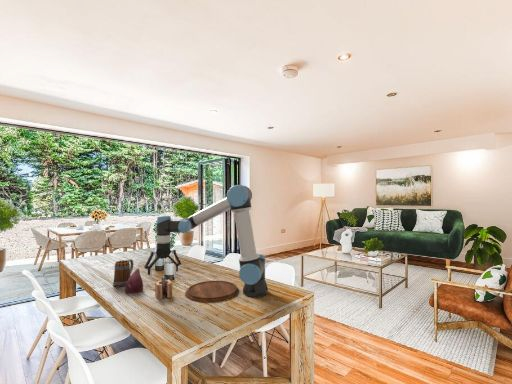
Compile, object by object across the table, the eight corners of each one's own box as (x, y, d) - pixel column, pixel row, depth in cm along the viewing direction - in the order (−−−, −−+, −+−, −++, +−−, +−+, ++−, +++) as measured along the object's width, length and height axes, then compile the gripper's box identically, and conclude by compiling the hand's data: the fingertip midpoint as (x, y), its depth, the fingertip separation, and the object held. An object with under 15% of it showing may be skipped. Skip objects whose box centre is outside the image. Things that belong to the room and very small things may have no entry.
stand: (167, 296, 155) (167, 277, 155) (160, 297, 153) (160, 278, 153) (166, 294, 158) (166, 275, 158) (159, 295, 156) (159, 276, 156)
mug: (123, 287, 170) (123, 264, 170) (109, 286, 172) (109, 263, 172) (139, 280, 185) (139, 258, 185) (125, 279, 187) (125, 257, 187)
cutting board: (230, 281, 182) (230, 277, 182) (246, 298, 153) (246, 293, 153) (182, 287, 171) (182, 283, 171) (188, 307, 141) (188, 302, 141)
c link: (172, 297, 154) (172, 283, 154) (157, 299, 150) (157, 285, 150) (169, 292, 161) (169, 279, 161) (155, 295, 157) (155, 281, 157)
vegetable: (137, 292, 170) (141, 268, 175) (145, 294, 164) (149, 268, 168) (121, 292, 163) (125, 267, 167) (128, 294, 156) (133, 267, 161)
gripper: (183, 239, 165) (182, 274, 165) (139, 242, 153) (139, 280, 153) (186, 241, 159) (186, 277, 158) (141, 245, 146) (140, 283, 146)
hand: (163, 278), depth 155 cm, fingers open, 13 cm apart
